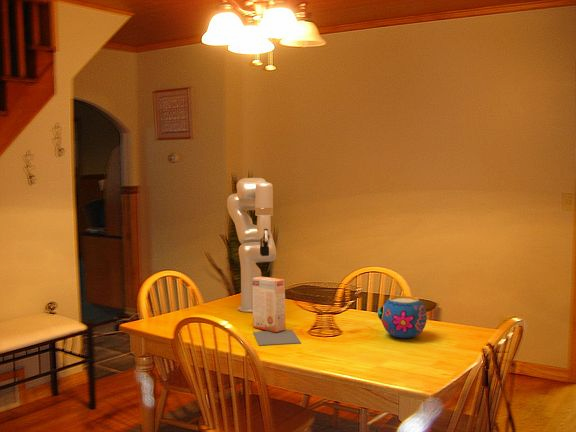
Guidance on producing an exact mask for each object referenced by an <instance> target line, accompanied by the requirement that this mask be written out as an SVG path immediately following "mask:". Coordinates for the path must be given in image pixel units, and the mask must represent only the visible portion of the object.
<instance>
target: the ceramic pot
mask: <svg viewBox="0 0 576 432" xmlns="http://www.w3.org/2000/svg"><path fill="white" fill-rule="evenodd" d="M377 317H378V319H379V320H380V322H381V323H382V326H383V327H384V330H385V331H386V332H387V333H388V334H390V335H391V336H393V337H396V338H400V339H411V338H414V337H417V336H419V335H420V334H421V333H422V332H423V331H424V329H425V327H426V324H427V319H428V315H427V309H426V307H425V305H424V304H423V301H421V300H420V298H418V297H414V296H408V295H407V296H406V295H397V296H391V297H389V298H388V299H387V300H386V301H385V302H384V304H383V305H382V306H380V307H379V308H378V310H377Z"/></svg>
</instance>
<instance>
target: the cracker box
mask: <svg viewBox="0 0 576 432" xmlns="http://www.w3.org/2000/svg"><path fill="white" fill-rule="evenodd" d="M285 281H286V280H285V279H282V278H275V277H267V276H261V277H255V278H253V312H252V327H253V328H256V329H258V330H262V331H271V332H280V331H284V330H286V282H285Z"/></svg>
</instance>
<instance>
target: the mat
mask: <svg viewBox="0 0 576 432" xmlns="http://www.w3.org/2000/svg"><path fill="white" fill-rule="evenodd" d="M252 333H253V336H254V338H255V341H256V342H257V345H258V346H259V347H262V346H263V347H264V346H281V345H283V346H284V345H297V344H302V341H301V340H300V339H299V337H298V336H297V334H296V333H295V331H294V330H293V329H285V330H284V331H280V332H271V331H267V330H262V331H261V330H258V331H252Z"/></svg>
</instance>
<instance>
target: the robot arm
mask: <svg viewBox="0 0 576 432" xmlns="http://www.w3.org/2000/svg"><path fill="white" fill-rule="evenodd" d="M273 187H274V186H273V183H272V182H268V181H266V179H265V178H263V177H245V178H244V177H243V178H241V179H239V180H238V181H237V183H236V192H235V193H232V194H230V195H229V196H228V197H227V199H226V207H227V211H228V214H229V217H231V220H232V221H233V223H234V225H235V230H236V235H237V239H238V241H239V243H240V246H239V247H238V257H239V264H240V294H241V295H240V298H241V299H240V301H241V302H240V303H241V305H238V307H237V310H238V311H240V312H243V313H253V278H255V277H262V271H261V268H260V267H259V266H258V265H257V263H267V262H273V261H275V260H276V258H277V248H276V244H275V241H274V237H273V234H272V231H271V230H272V229H271V228H272V227H271V225H272V223H271V221H272V220H271V217H273V216H274V188H273ZM245 211H255V213H254V214H255V216H257V217H256V219H257V220H256V224H254V223H253V219H252V217H251V216H250V215H249V214H248V213H247V212H245Z"/></svg>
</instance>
